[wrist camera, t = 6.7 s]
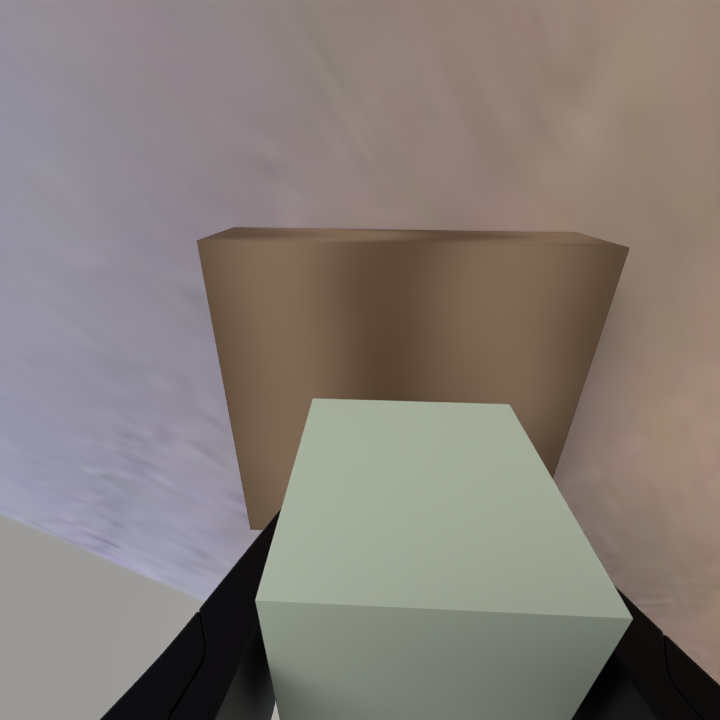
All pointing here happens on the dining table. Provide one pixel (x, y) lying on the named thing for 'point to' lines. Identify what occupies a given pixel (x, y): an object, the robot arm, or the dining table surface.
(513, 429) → the sage block
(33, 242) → the dining table surface
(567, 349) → the walnut plinth
